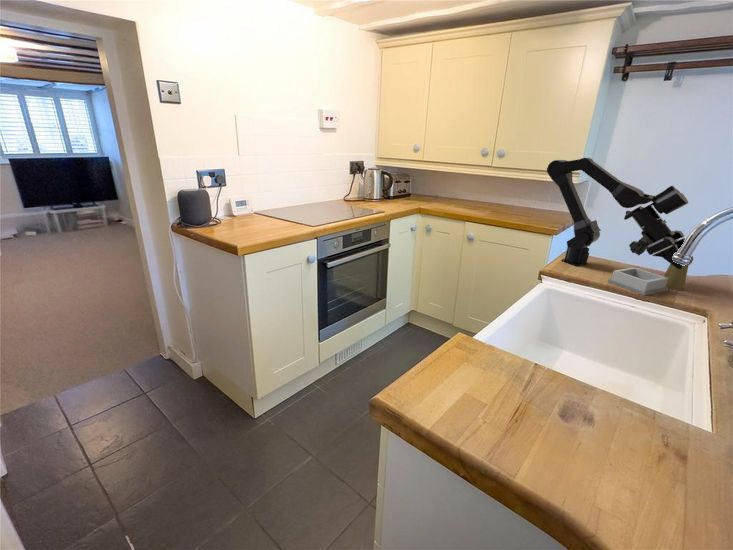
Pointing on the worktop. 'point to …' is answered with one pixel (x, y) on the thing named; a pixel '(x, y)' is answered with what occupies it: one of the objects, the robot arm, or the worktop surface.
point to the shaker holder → (639, 281)
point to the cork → (676, 276)
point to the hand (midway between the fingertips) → (683, 265)
